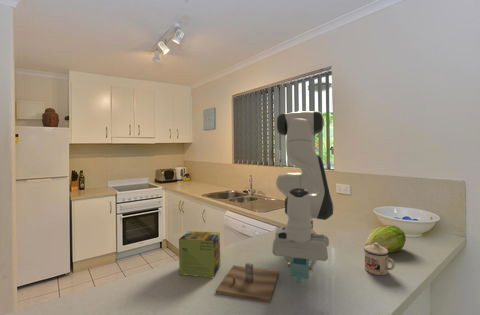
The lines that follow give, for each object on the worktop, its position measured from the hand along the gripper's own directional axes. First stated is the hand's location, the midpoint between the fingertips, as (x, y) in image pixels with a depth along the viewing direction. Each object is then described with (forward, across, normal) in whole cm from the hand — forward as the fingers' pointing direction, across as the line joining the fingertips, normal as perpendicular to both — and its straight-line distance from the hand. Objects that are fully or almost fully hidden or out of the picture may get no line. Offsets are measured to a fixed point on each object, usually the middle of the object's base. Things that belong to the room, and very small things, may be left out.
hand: (299, 268), depth 95 cm
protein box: (+7, +42, -1) cm, 43 cm away
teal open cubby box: (+2, 0, +2) cm, 2 cm away
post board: (+7, +19, +3) cm, 20 cm away
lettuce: (+9, -38, -44) cm, 58 cm away
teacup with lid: (+8, -31, -20) cm, 38 cm away
